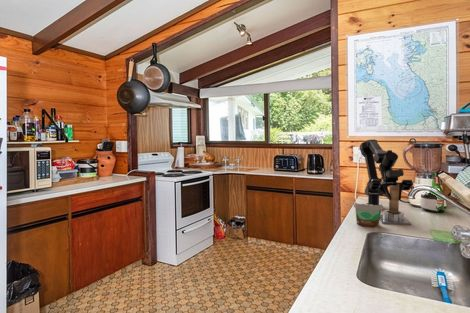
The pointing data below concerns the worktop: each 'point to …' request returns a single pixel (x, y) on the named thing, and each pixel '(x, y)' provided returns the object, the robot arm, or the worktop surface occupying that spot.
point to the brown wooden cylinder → (394, 199)
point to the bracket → (394, 218)
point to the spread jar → (428, 202)
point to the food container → (368, 214)
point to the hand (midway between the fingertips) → (395, 199)
